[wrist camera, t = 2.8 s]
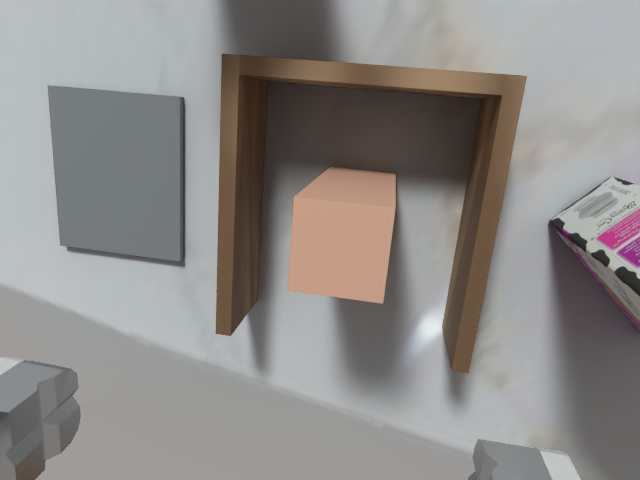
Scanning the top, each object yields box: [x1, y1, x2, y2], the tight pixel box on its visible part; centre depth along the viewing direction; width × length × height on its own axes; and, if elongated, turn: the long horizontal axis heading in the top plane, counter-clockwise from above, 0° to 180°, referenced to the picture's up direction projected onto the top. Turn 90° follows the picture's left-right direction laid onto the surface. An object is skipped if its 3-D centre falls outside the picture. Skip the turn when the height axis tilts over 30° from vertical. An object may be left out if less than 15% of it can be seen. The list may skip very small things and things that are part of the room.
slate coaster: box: [48, 86, 184, 262], centre depth 34 cm, size 10×12×1 cm
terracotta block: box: [288, 167, 396, 304], centre depth 27 cm, size 4×4×12 cm
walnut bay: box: [216, 54, 527, 373], centre depth 29 cm, size 16×17×6 cm
